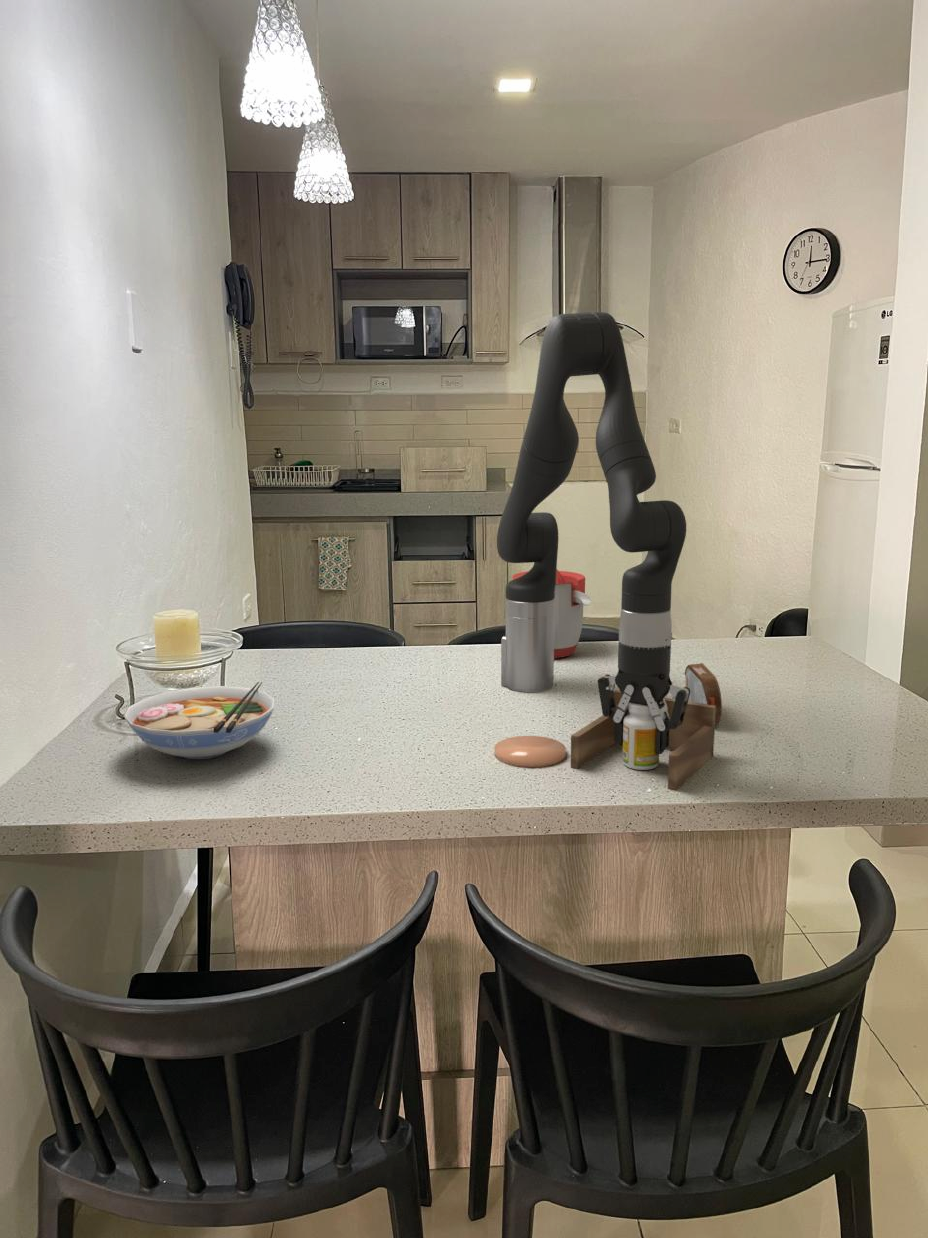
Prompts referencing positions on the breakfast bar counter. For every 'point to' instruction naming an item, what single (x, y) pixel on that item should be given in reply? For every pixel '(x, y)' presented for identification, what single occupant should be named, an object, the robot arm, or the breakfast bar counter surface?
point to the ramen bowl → (200, 719)
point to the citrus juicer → (567, 611)
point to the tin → (703, 687)
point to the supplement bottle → (639, 738)
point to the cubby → (685, 741)
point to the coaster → (530, 751)
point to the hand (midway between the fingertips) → (641, 748)
